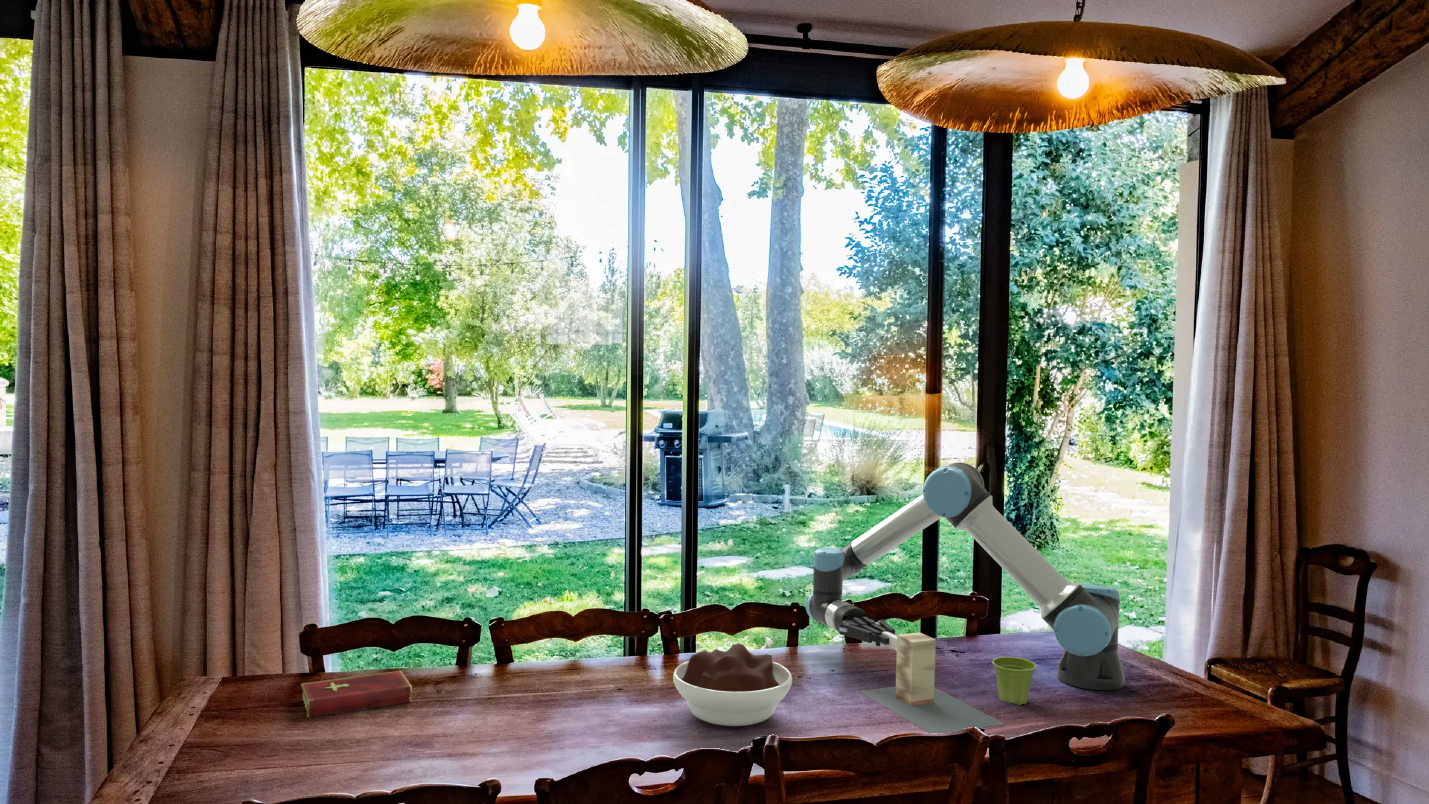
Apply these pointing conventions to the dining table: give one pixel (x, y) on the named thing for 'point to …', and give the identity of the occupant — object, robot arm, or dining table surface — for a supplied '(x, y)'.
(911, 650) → the birch block
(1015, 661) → the plant pot
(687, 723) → the dining table surface
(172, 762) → the dining table surface
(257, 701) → the dining table surface
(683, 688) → the chocolate pudding bowl
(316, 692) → the hardcover book
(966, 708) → the rubber mat
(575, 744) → the dining table surface
